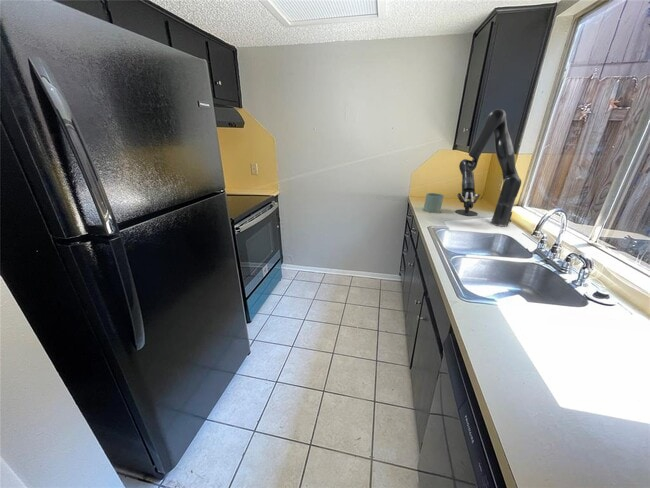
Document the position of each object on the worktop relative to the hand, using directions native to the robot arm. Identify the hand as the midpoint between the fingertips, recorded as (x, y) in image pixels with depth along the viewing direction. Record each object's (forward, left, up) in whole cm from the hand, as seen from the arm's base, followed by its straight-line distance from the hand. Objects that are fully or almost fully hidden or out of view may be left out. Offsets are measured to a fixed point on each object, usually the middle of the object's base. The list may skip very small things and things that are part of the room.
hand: (468, 207), depth 167 cm
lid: (0, -2, -4) cm, 5 cm away
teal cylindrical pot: (+10, -35, -13) cm, 38 cm away
